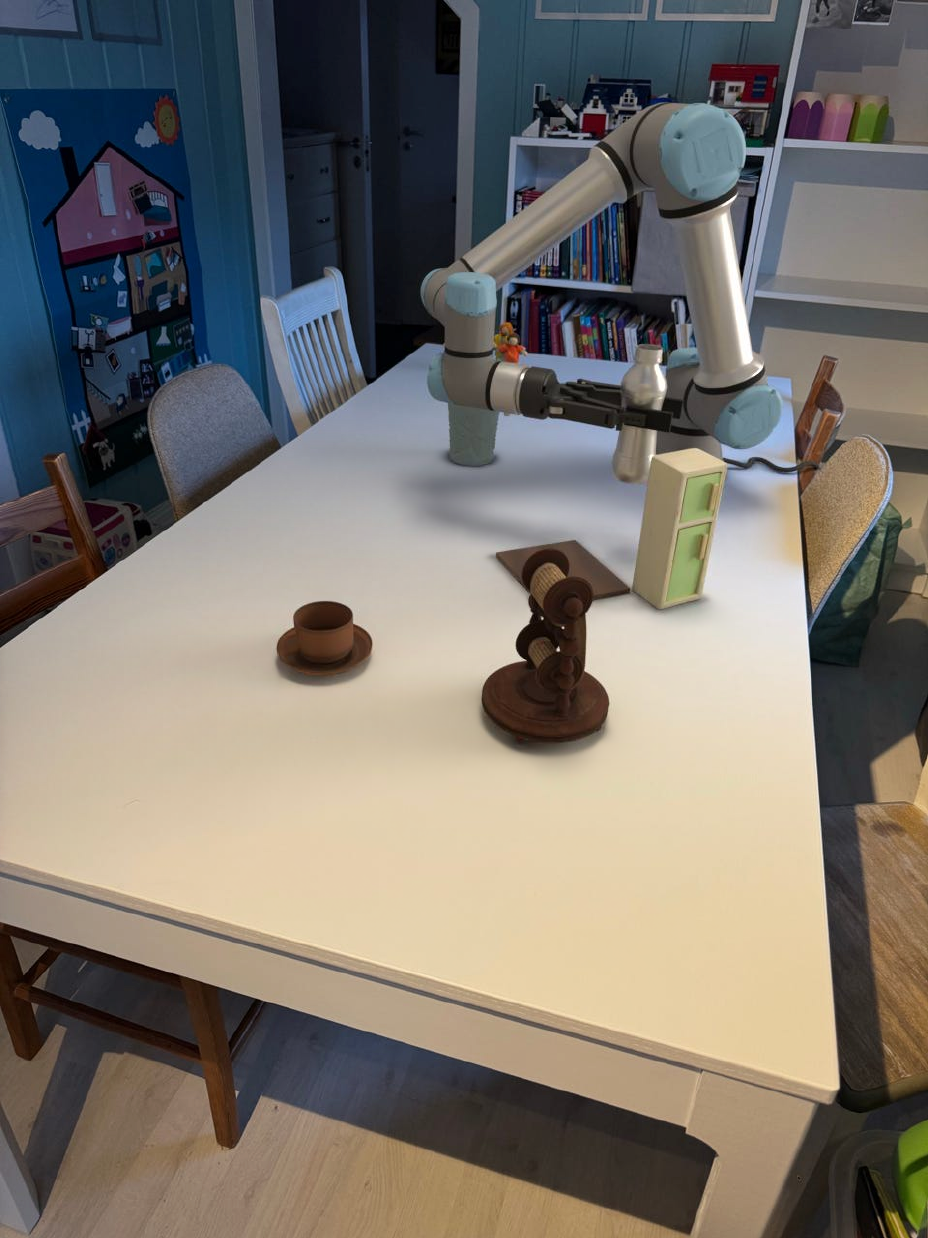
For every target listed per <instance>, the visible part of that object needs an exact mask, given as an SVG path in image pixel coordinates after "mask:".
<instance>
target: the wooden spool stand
mask: <svg viewBox="0 0 928 1238" xmlns="http://www.w3.org/2000/svg"><path fill="white" fill-rule="evenodd" d="M569 568H570V565H569V560H568V558H567V556H566V555H565V554H564V553H563V552H562V551H560V550H558V549H554V548H546V549H542V550H539V551H537V552H535V553H534V554H533V555H531V556H530V557H529V558H528V559H527V561H526V562H525V564H524V566H523V569H522V573H521V577H522V582H523V584H524V586H525V587H526V588H527V589H528V590H529V591H531V594H530V593H529V595H528V598H527V602H528V604H527V605H528V607H529V609H530V613H532V614H531V615H530V616H531V617H530V618H529V620H528V624H526V625H525V626H523V628H522V629H521V630H520V631H519V633H518V635H517V636H516V639H515V650H516V653H517V654H518V656H519V657H520V658H522V659H523V660H521V661H516V662H512V663H509V664H506V665H504V666H501V667H500V668H498V669H497V670H494V671H493V672H492V673H491V674H490V675H489V676H488V677H487V678H486V679H485V681H484V683H483V686H482V690H481V706H482V709H483V712H484V714H485V716H487V717H486V718H488V719H489V720H490V721H491V722H492V724H494V725H495V726H496V727H497V728H499V729H500V730H502V731H503V732H505V733H507V734H510V735H511V736H514V739H515V742H516V744H517V745H519V746H520V745H522V744H523V743H524V741H525V740H526V741H530V742H536V743H544V744H545V743H546V744H560V743H569V742H575V741H578V740H581V739H583V738H586V737H589V736H590V735H592V734H594V733H595V732H596V733H597V732H600V730H601V729H602V727H603V725H604V723H605V722H606V720H607V717H608V714H609V709H610V708H609V707H610V698H609V693H608V692H607V690H606V688H605V687H604V685H603V684H602V683H601V682H600V681H599V680H598V679H597V678H596V677H594V676H593V675H592V674H591V673H589V672H587V671H585V670H586V657H587V615H586V614H587V613H588V611H589V610H590V609H591V607H592V605H593V601H594V600H593V597H594V593H593V589H592V586H591V585H590V583H589V582H588V581H587V580H585V579H583V578H581V577H576V576H571V577H567V576H568V573H569ZM524 586H523V587H524ZM525 587H524V588H525ZM526 588H525V589H526ZM558 649H559V650H558Z"/></svg>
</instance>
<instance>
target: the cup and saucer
mask: <svg viewBox="0 0 928 1238" xmlns="http://www.w3.org/2000/svg"><path fill="white" fill-rule="evenodd" d="M292 621H293V622H292V623H293V627H292V628H290V629H288V630H286V632H284V633H283V634H282V635H280V637H279V639H278V641H277V643H276V649H275V650H276V653H277V656H278V658H279V660H280V661H281V662H282V663H283V664H284V665H285V666H286V667H288V668H290V669H291V670H293V671H295V672H298V673H302V674H304V675H311V676H333V675H338V674H342V673H345V672H349V671H351V670H353V669H355V668H357V667H358V666H359V665H361V664H363V663H364V662H365V661H366V660H367V659H368V658H369V657H370V654H371V652H372V650H373V643H374V642H373V639H372V636H371V634H370V633H369V632H368V631H367V630H366V629H365V628H363V627H362V626H360V625H357V624H355V623H354V612H353V610H352V609H351V608H350V607H349V606H348V605H346V604H344V603H342V602H338V601H332V600H319V601H318V600H317V601H313V602H308V603H306V604H304V605H301V606H300V607H298V608H297V609H296V610H295V611H294V612H293V615H292Z"/></svg>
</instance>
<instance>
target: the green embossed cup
mask: <svg viewBox="0 0 928 1238" xmlns="http://www.w3.org/2000/svg"><path fill="white" fill-rule="evenodd" d="M447 411H448V426H449V428H448V432H449V433H448V435H449V440H448V441H449V459H450V460H451V461H452V462H453V463H455V464H457V465H460V466H467V467H480V466H485V465H488V464H490V463H492V461H493V459H494V454H495V445H496V436H497V435H496V434H497V430H498V423H499V416H500V412H497V411H491V410H485V409H478V408H472V407H465V406H456V405H454V404H450V403H447Z"/></svg>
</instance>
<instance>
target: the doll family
mask: <svg viewBox="0 0 928 1238" xmlns="http://www.w3.org/2000/svg"><path fill="white" fill-rule="evenodd" d="M498 332H499V333H498V334H494V345H493V349H495V351H494V356H495V359H494V360H495V361H501V362H509V363H516V364H520V355H521V356H522V355H523V356H524V357H527V356H528V352H527V351H526V347H525V346H523V345H519V344H520V342H521V338H520V335H519V334H518V333H516V332H514V328H513V325H512V324H511V322H508V321H507V322H505V321H504V322H503V323H501V324H499V331H498ZM443 348H445V342H444V343H443Z"/></svg>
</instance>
